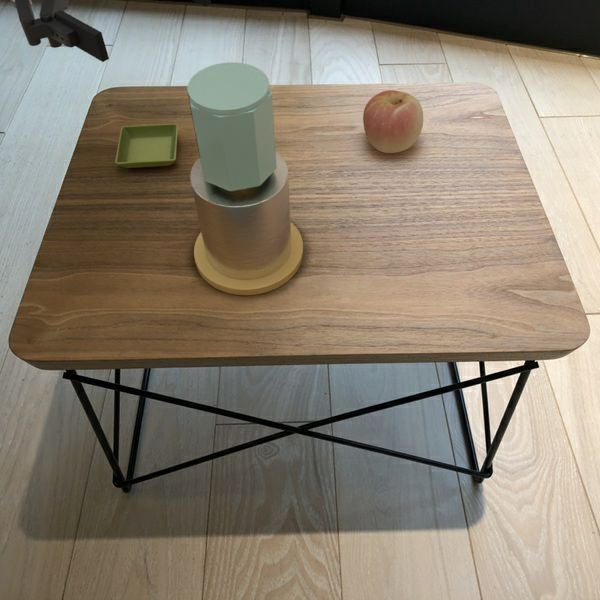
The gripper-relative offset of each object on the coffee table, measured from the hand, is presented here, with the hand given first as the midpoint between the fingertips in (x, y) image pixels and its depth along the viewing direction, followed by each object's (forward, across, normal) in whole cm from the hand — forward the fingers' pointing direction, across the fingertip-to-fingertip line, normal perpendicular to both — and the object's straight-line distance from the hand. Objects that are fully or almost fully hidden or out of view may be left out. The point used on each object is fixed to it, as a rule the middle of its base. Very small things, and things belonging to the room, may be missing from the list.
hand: (157, 18), depth 61 cm
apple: (+10, -30, -28) cm, 42 cm away
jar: (+10, 0, -13) cm, 16 cm away
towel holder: (+10, 0, -28) cm, 30 cm away
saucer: (-16, -5, -28) cm, 33 cm away
